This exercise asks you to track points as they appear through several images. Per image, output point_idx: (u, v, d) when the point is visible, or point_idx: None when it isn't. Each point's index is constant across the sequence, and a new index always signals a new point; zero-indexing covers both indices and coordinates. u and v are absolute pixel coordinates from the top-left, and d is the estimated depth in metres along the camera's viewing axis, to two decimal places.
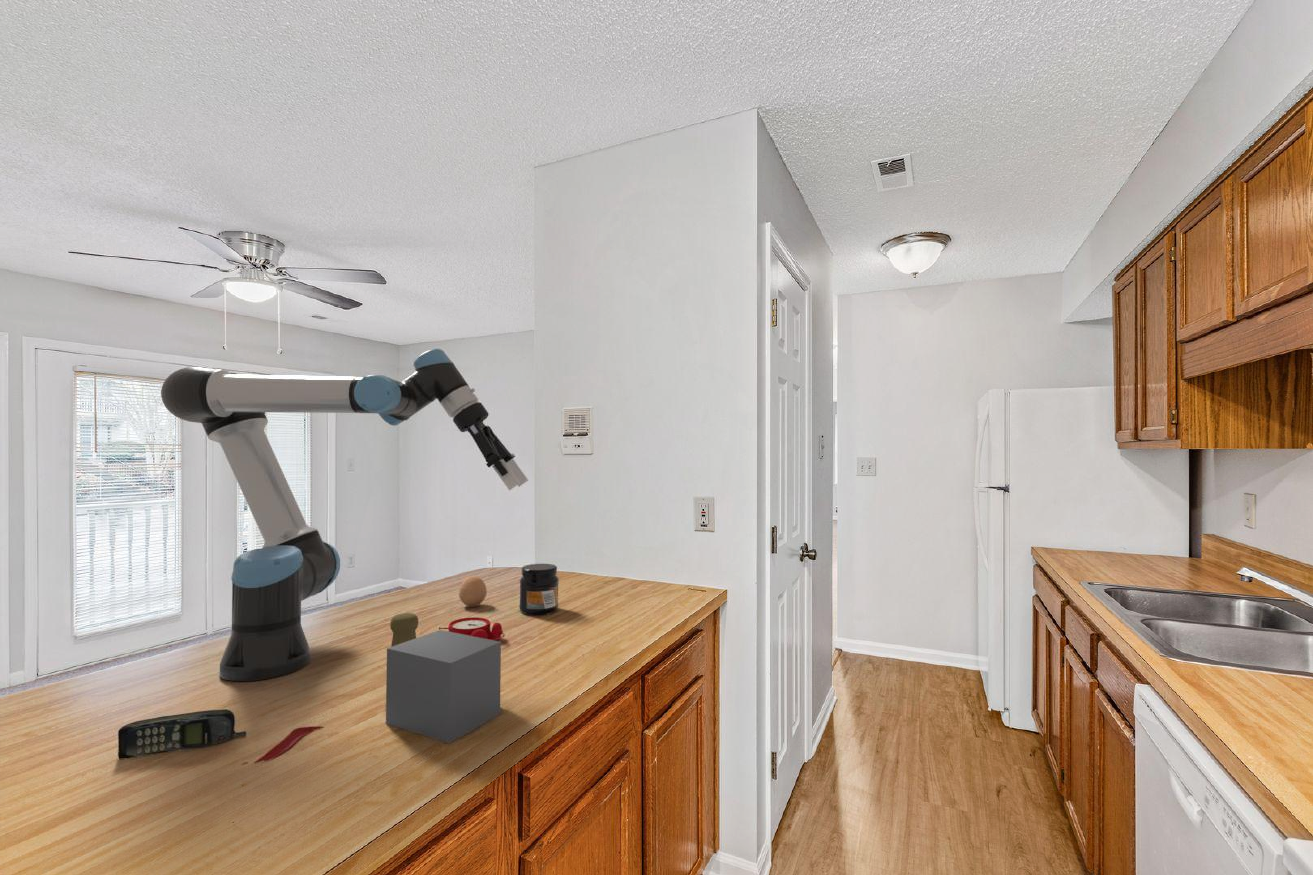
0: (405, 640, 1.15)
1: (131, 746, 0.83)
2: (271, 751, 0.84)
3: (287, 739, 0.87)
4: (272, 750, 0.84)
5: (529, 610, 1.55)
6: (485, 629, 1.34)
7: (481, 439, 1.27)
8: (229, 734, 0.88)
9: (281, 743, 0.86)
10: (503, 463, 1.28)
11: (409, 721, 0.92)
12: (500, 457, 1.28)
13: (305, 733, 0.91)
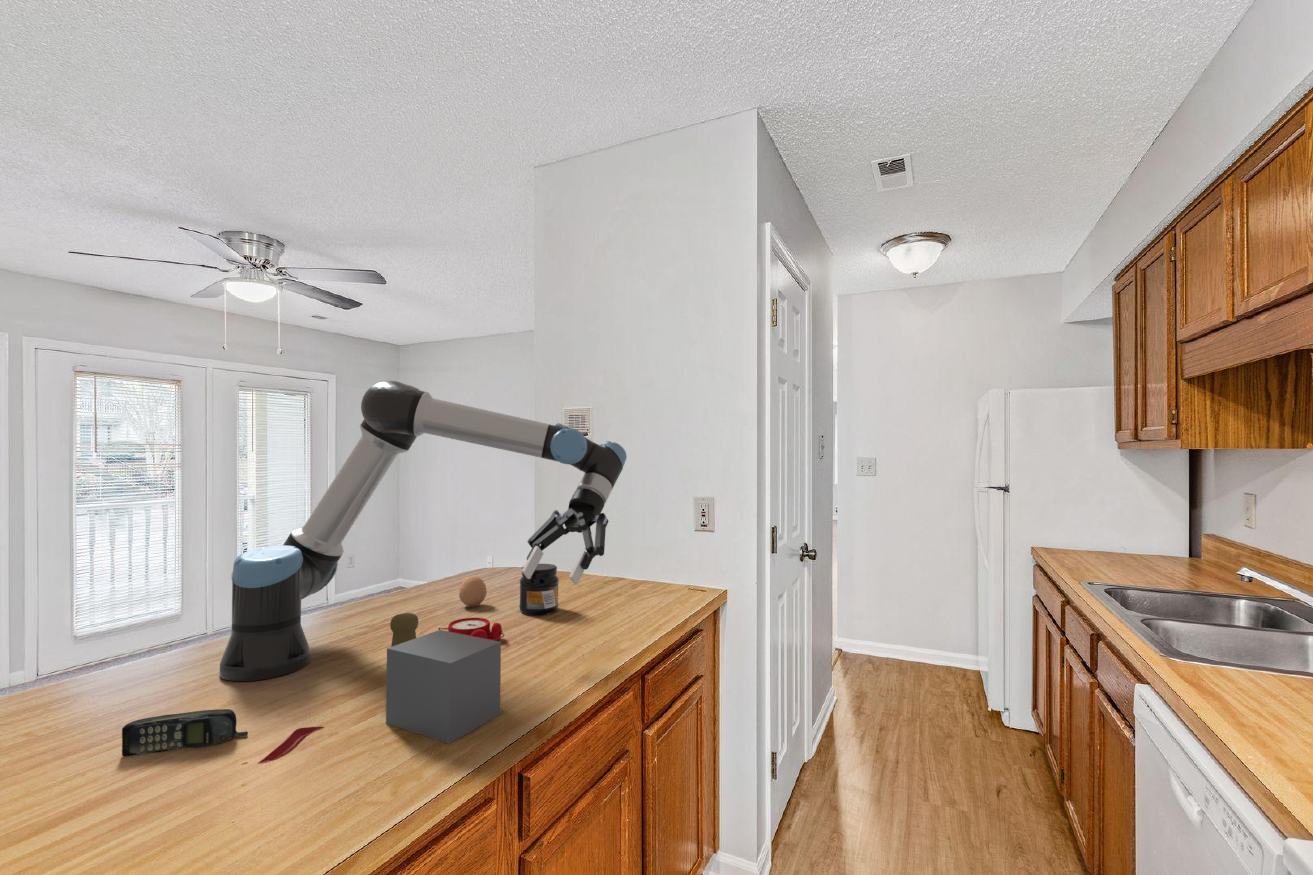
0: (405, 640, 1.15)
1: (134, 744, 0.84)
2: (274, 752, 0.84)
3: (289, 740, 0.87)
4: (275, 751, 0.84)
5: (529, 610, 1.55)
6: (485, 629, 1.34)
7: (603, 531, 1.26)
8: (230, 734, 0.88)
9: (283, 744, 0.86)
10: None
11: (409, 721, 0.92)
12: None
13: (306, 733, 0.91)
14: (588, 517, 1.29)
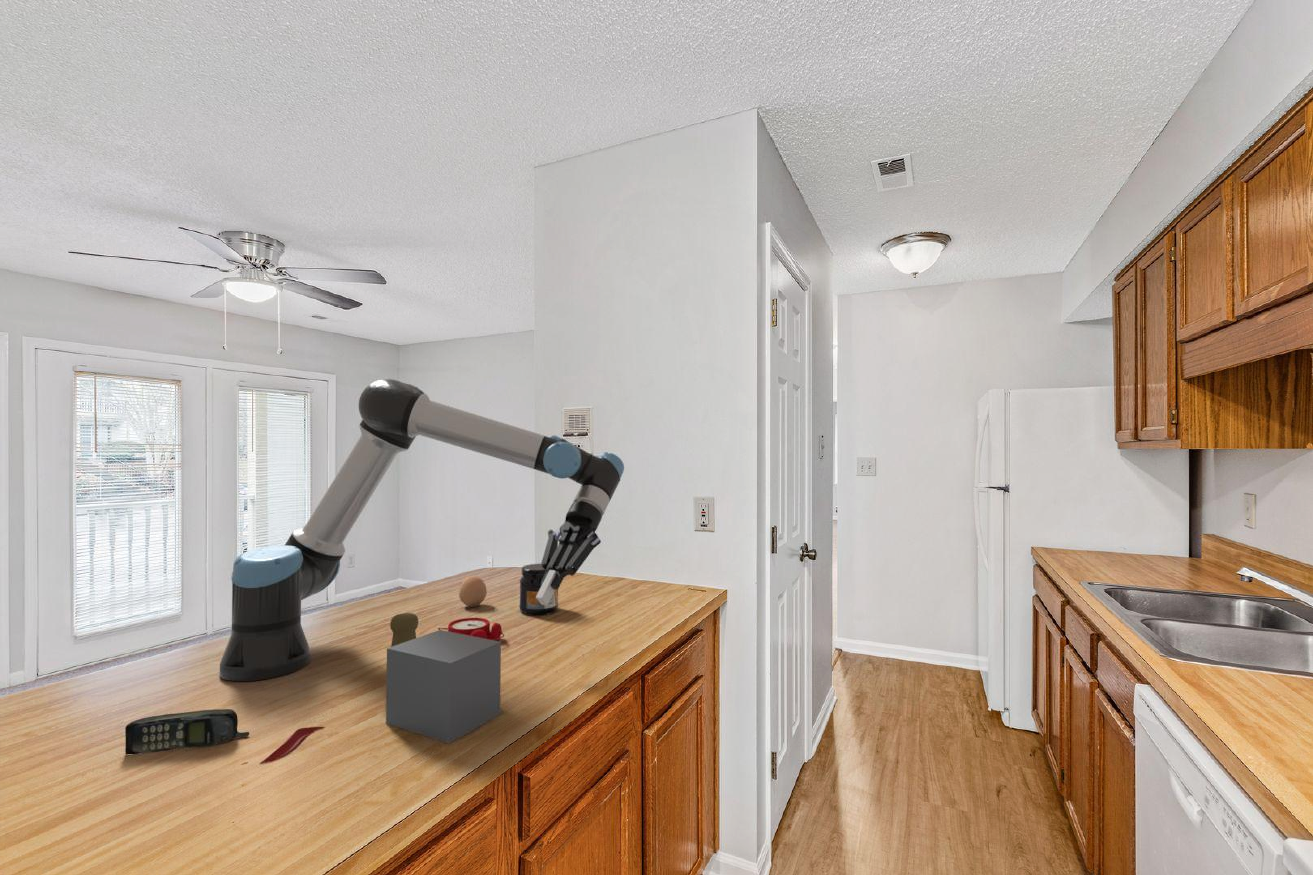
0: (405, 640, 1.15)
1: (137, 742, 0.85)
2: (276, 752, 0.84)
3: (291, 739, 0.87)
4: (277, 751, 0.84)
5: (529, 610, 1.55)
6: (484, 629, 1.34)
7: (586, 552, 1.24)
8: (231, 734, 0.88)
9: (285, 743, 0.86)
10: None
11: (409, 721, 0.92)
12: None
13: (307, 733, 0.91)
14: (584, 530, 1.27)
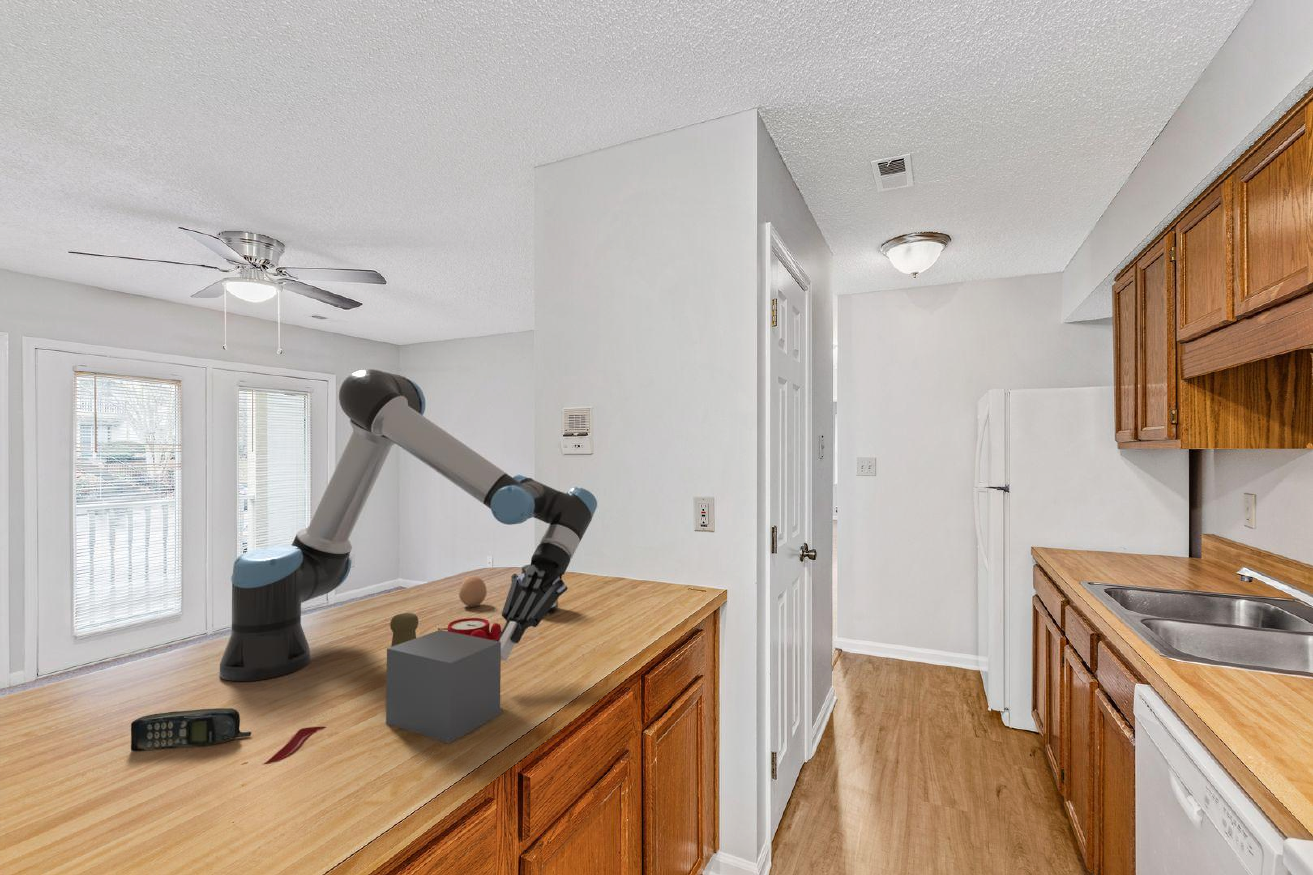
0: (405, 640, 1.15)
1: (142, 739, 0.85)
2: (280, 752, 0.84)
3: (294, 740, 0.87)
4: (281, 751, 0.84)
5: None
6: (484, 629, 1.33)
7: (551, 601, 1.14)
8: (233, 734, 0.88)
9: (289, 744, 0.86)
10: None
11: (409, 721, 0.92)
12: None
13: (309, 733, 0.91)
14: (549, 576, 1.17)
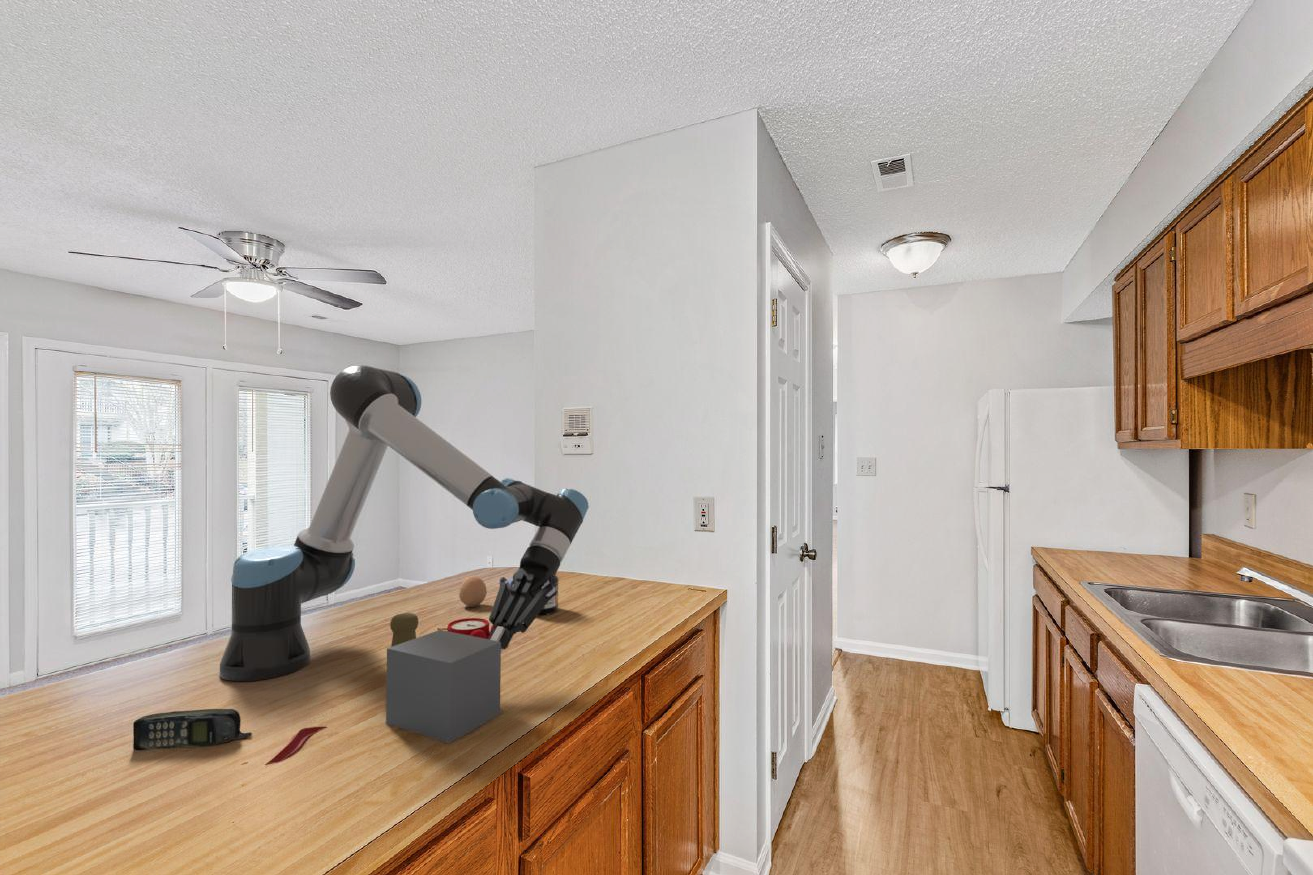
0: (405, 640, 1.15)
1: (144, 739, 0.86)
2: (282, 752, 0.84)
3: (295, 739, 0.87)
4: (283, 751, 0.84)
5: None
6: (484, 630, 1.33)
7: (540, 605, 1.11)
8: (233, 735, 0.88)
9: (291, 743, 0.86)
10: None
11: (409, 721, 0.92)
12: None
13: (310, 733, 0.90)
14: (538, 579, 1.14)
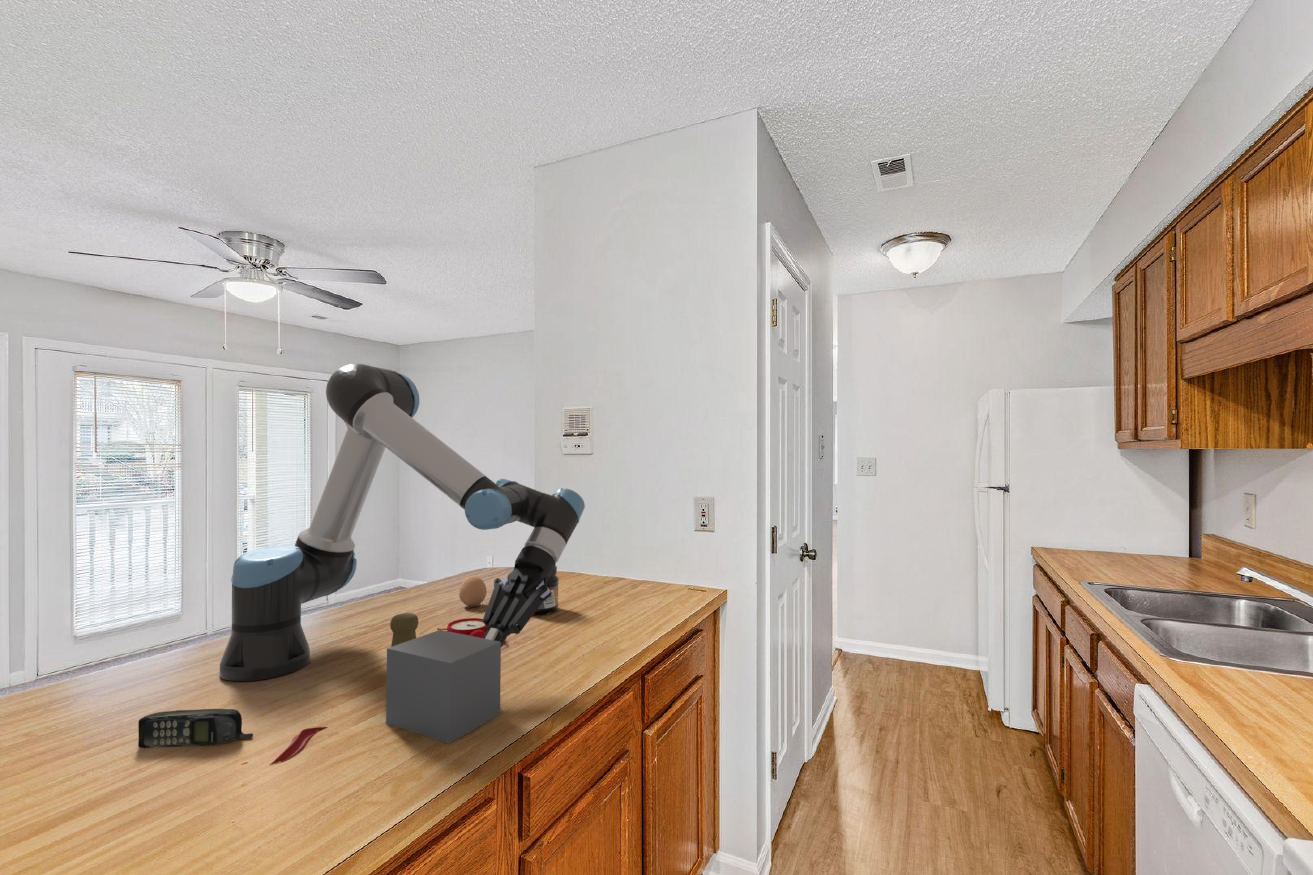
0: (405, 640, 1.15)
1: (148, 737, 0.86)
2: (285, 752, 0.84)
3: (298, 740, 0.87)
4: (286, 751, 0.84)
5: None
6: (484, 630, 1.33)
7: (534, 607, 1.09)
8: (234, 735, 0.88)
9: (293, 744, 0.86)
10: None
11: (409, 721, 0.92)
12: None
13: (312, 734, 0.90)
14: (533, 580, 1.12)
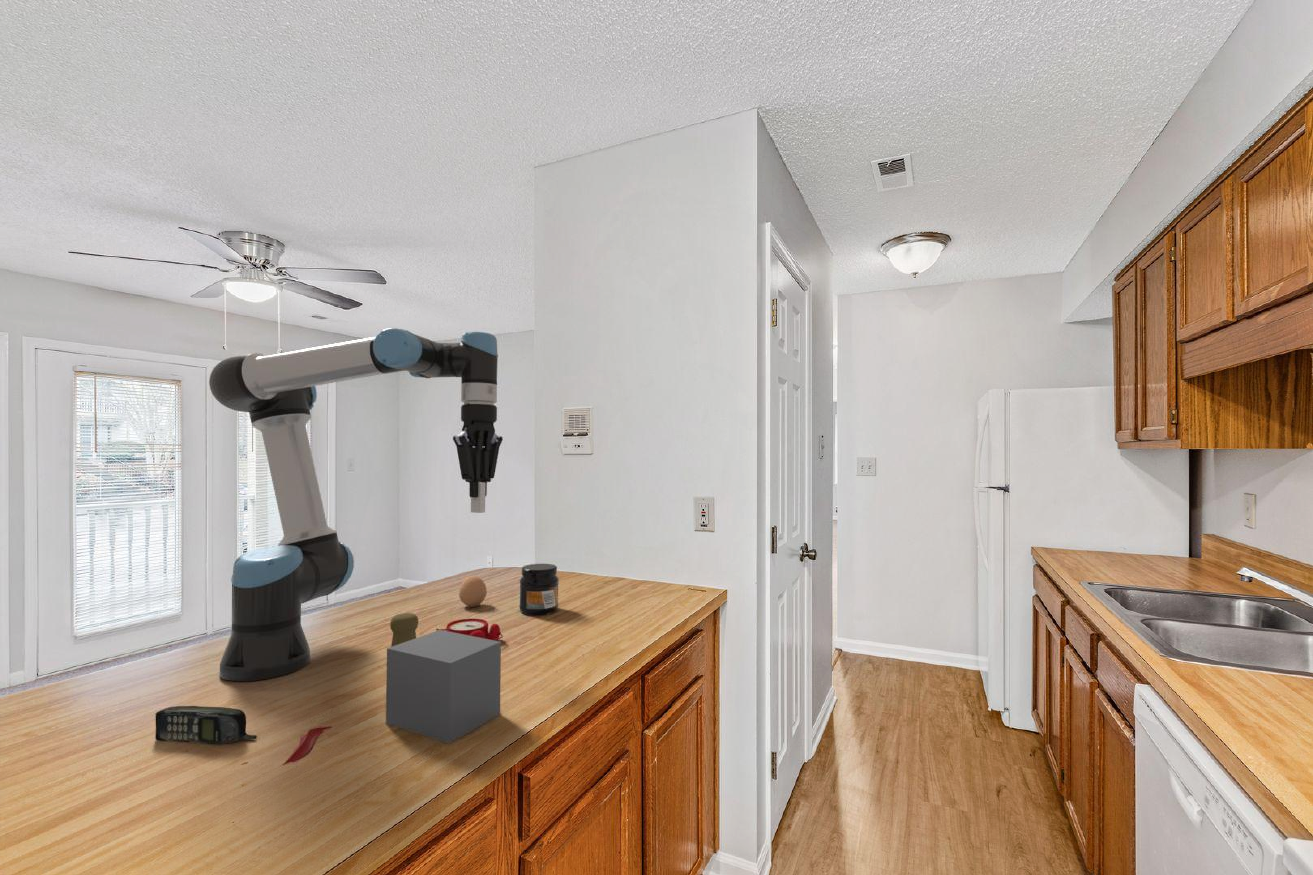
0: (405, 640, 1.15)
1: (163, 730, 0.88)
2: (296, 752, 0.84)
3: (306, 740, 0.87)
4: (297, 751, 0.84)
5: (529, 610, 1.55)
6: (483, 630, 1.33)
7: (462, 455, 1.23)
8: (236, 736, 0.87)
9: (303, 743, 0.86)
10: (479, 487, 1.27)
11: (409, 721, 0.92)
12: (478, 480, 1.26)
13: (317, 734, 0.90)
14: None
